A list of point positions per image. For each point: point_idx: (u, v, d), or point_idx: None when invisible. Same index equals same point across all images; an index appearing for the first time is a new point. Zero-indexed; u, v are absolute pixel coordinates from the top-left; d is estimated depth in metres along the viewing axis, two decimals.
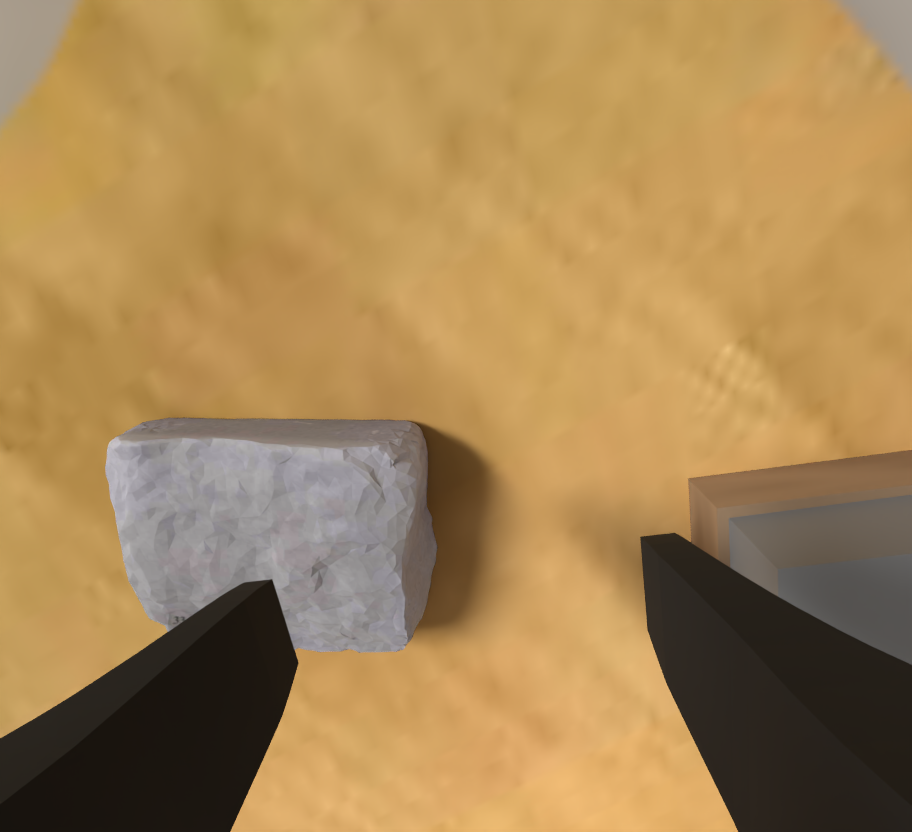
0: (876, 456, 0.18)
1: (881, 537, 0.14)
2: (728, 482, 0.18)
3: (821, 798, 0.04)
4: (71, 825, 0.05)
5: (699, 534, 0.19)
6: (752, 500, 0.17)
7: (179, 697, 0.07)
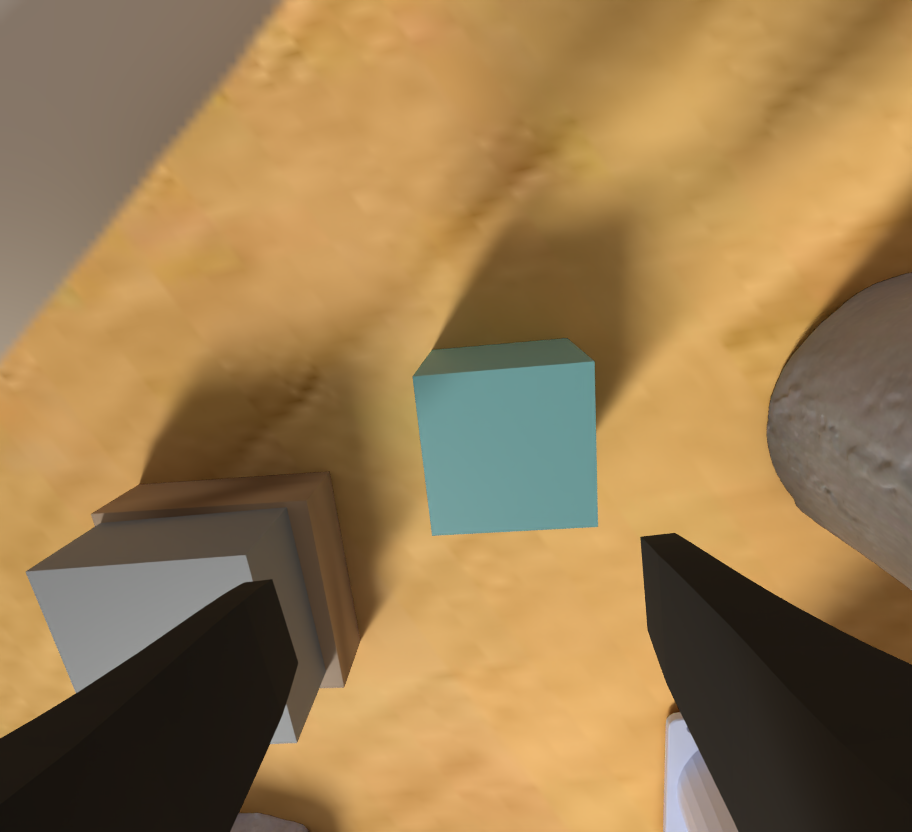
0: None
1: None
2: None
3: (821, 798, 0.04)
4: (71, 825, 0.05)
5: None
6: None
7: (179, 697, 0.07)
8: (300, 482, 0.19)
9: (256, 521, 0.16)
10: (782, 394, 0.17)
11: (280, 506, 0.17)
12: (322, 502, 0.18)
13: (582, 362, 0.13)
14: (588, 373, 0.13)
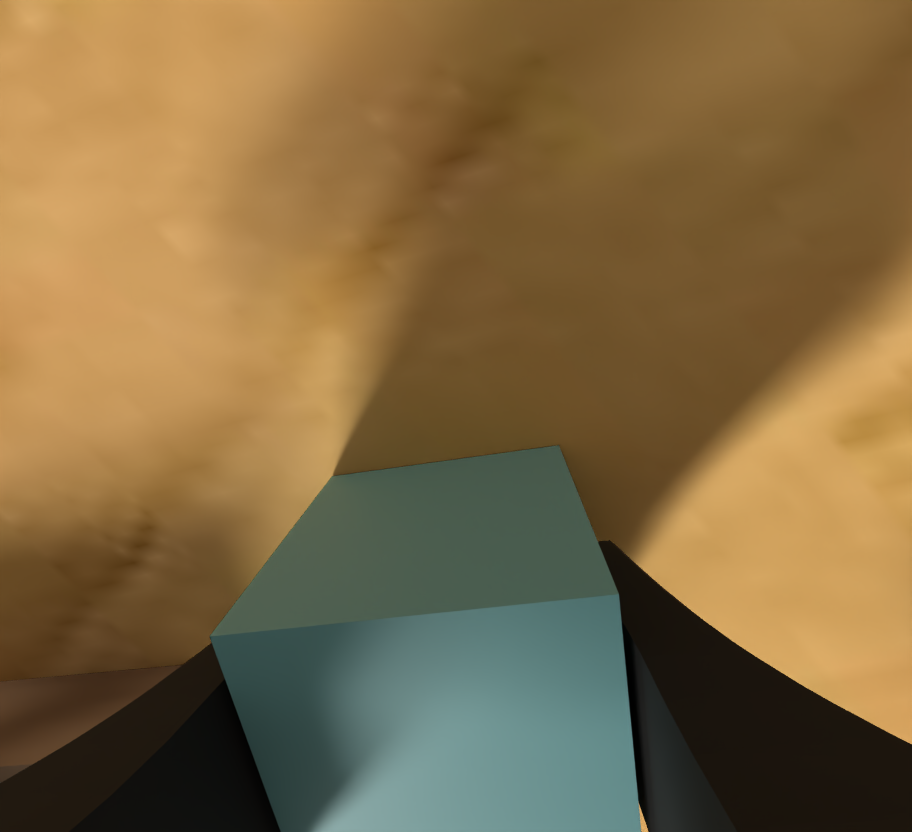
0: None
1: None
2: None
3: (686, 806, 0.04)
4: (169, 819, 0.05)
5: None
6: None
7: None
8: None
9: None
10: None
11: None
12: None
13: (589, 597, 0.05)
14: (605, 620, 0.05)
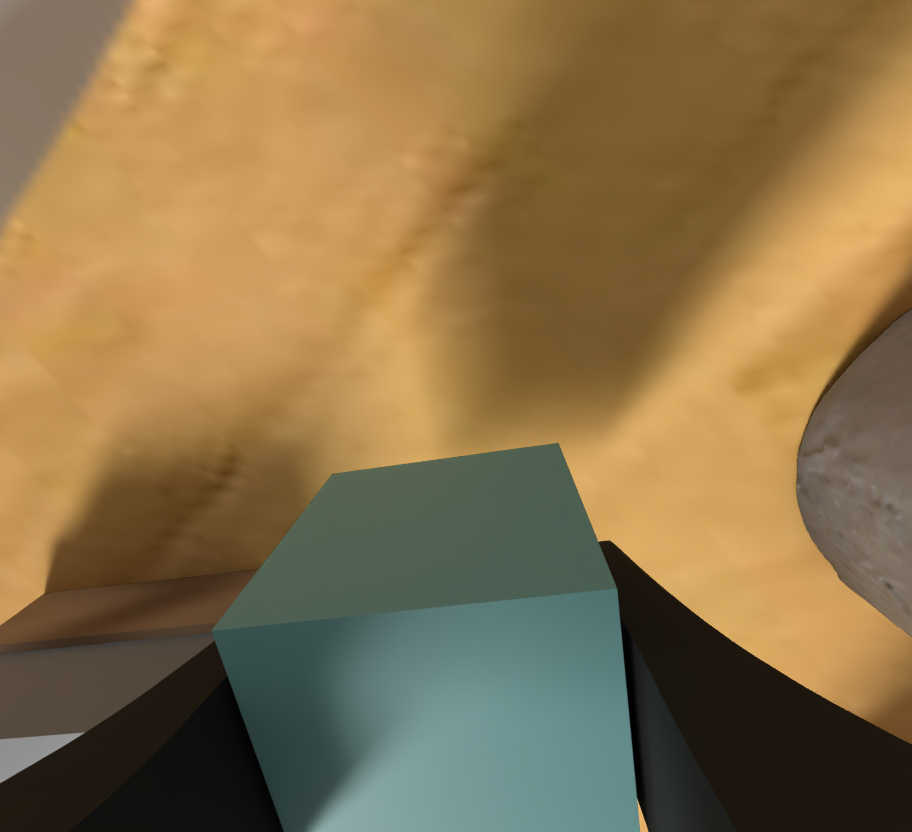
0: None
1: None
2: None
3: (686, 806, 0.04)
4: (169, 819, 0.05)
5: None
6: None
7: None
8: (226, 588, 0.15)
9: (180, 658, 0.13)
10: (814, 447, 0.13)
11: (195, 630, 0.14)
12: None
13: (588, 591, 0.05)
14: (604, 613, 0.06)
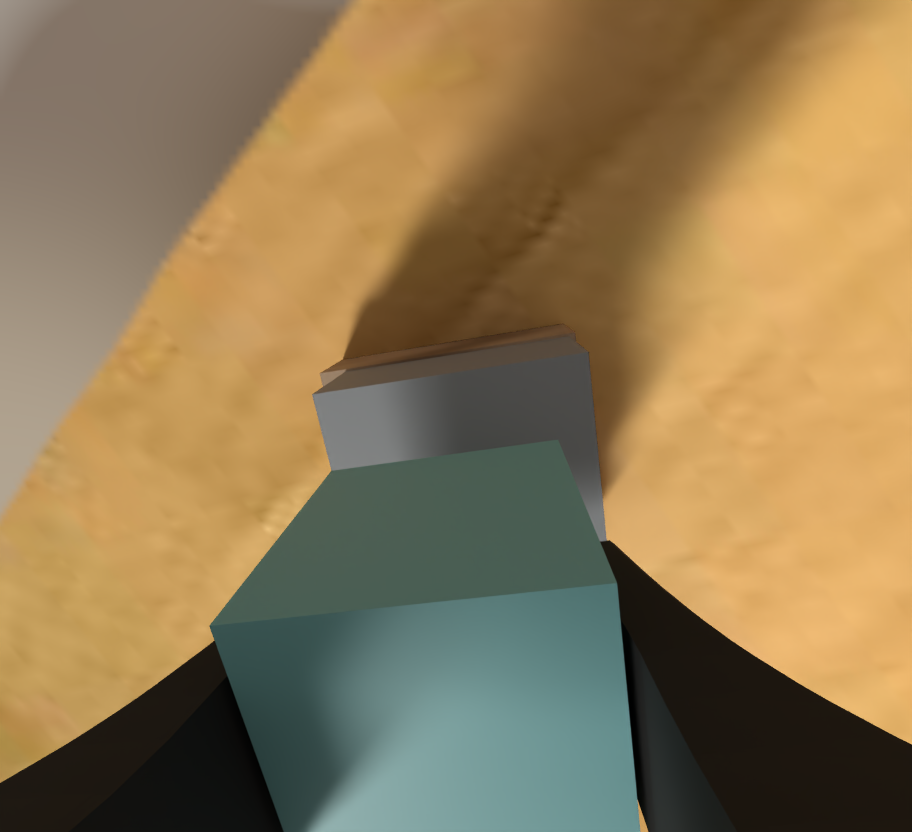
0: None
1: None
2: None
3: (686, 805, 0.04)
4: (169, 819, 0.05)
5: None
6: None
7: None
8: (541, 330, 0.16)
9: (550, 344, 0.14)
10: None
11: None
12: None
13: (588, 585, 0.05)
14: (604, 608, 0.05)
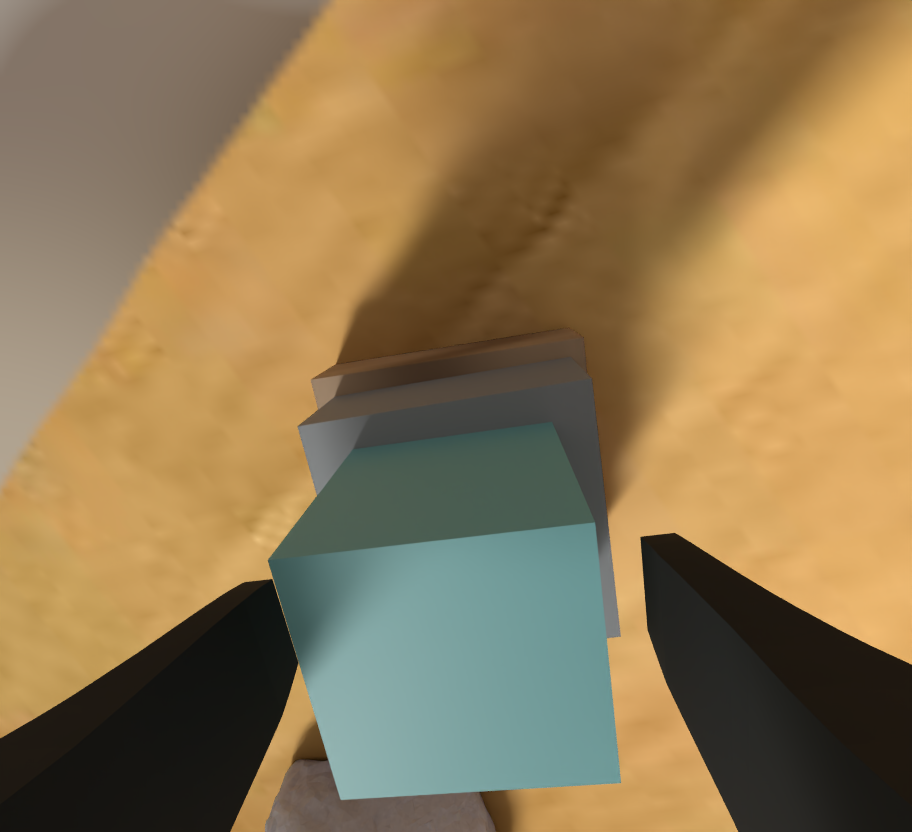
0: None
1: None
2: None
3: (821, 798, 0.04)
4: (71, 825, 0.05)
5: None
6: None
7: (179, 697, 0.07)
8: (547, 334, 0.15)
9: (550, 366, 0.13)
10: None
11: (549, 348, 0.14)
12: None
13: (572, 525, 0.07)
14: (585, 543, 0.07)
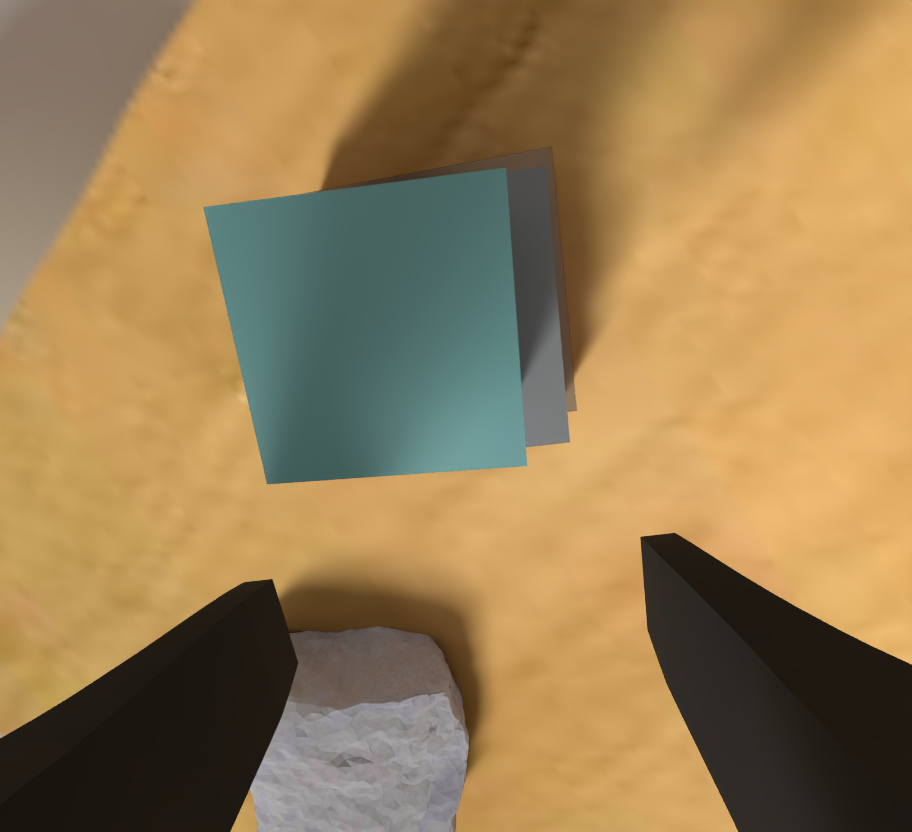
0: None
1: None
2: None
3: (821, 798, 0.04)
4: (71, 825, 0.05)
5: None
6: None
7: (179, 697, 0.07)
8: None
9: None
10: None
11: (519, 159, 0.14)
12: None
13: (485, 170, 0.07)
14: (496, 191, 0.07)
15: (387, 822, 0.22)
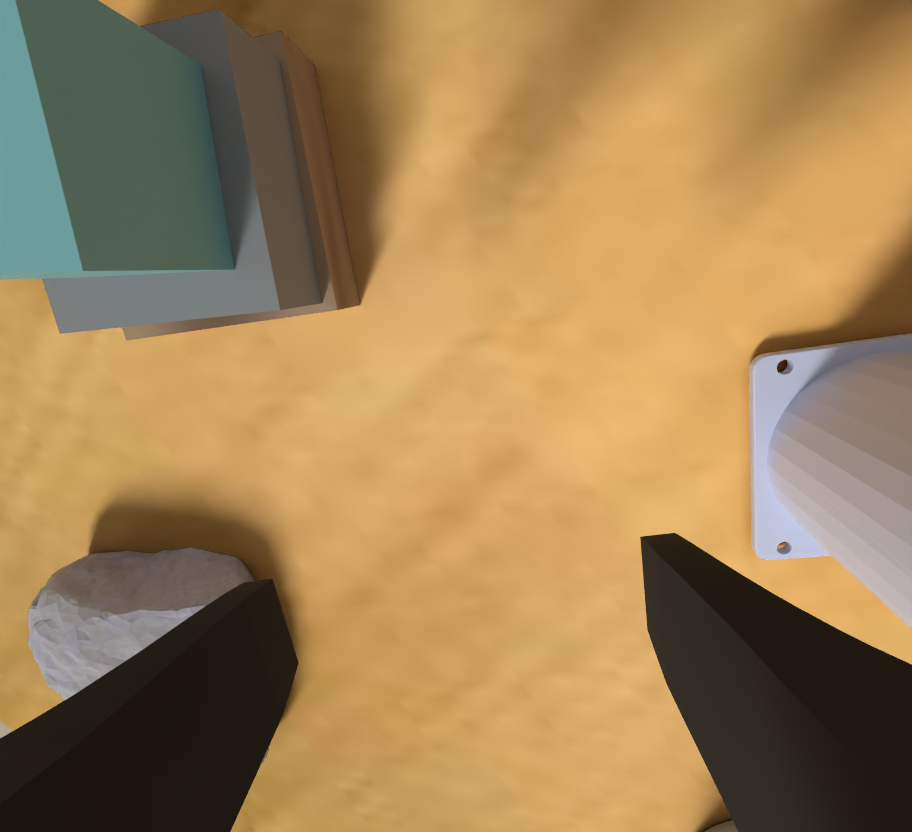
0: None
1: None
2: None
3: (821, 798, 0.04)
4: (71, 825, 0.05)
5: None
6: None
7: (179, 697, 0.07)
8: None
9: None
10: None
11: None
12: (305, 76, 0.16)
13: None
14: None
15: None
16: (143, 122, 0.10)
